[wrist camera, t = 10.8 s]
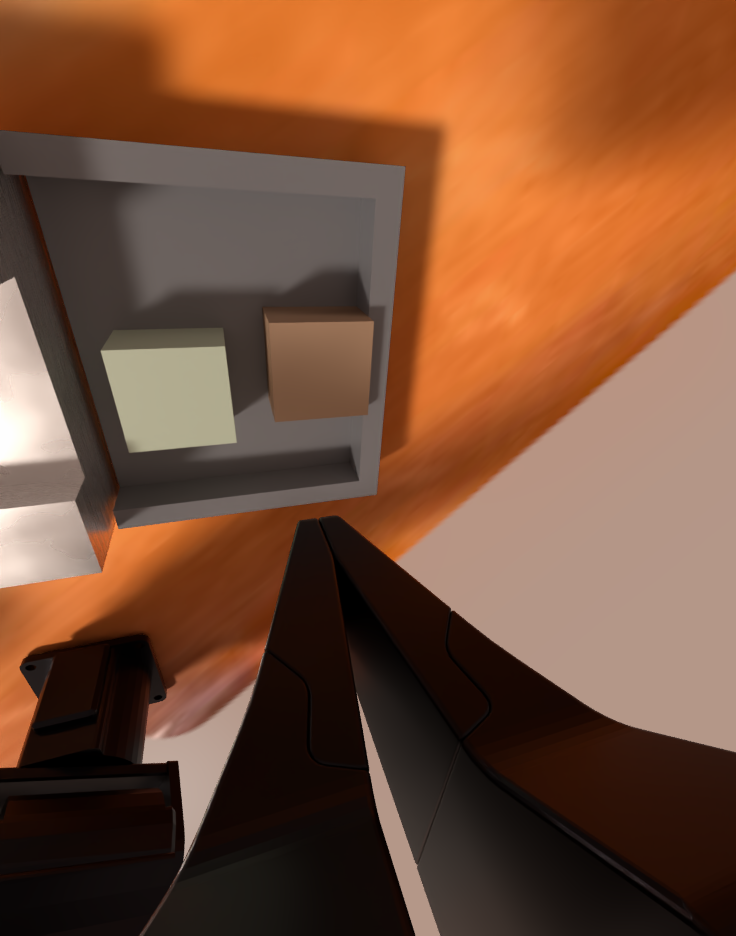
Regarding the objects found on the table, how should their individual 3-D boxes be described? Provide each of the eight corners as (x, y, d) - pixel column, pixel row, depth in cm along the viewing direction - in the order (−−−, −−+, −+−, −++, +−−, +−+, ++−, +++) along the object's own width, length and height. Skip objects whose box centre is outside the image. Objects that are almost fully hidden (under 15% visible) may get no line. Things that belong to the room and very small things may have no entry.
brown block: (275, 422, 18) (268, 397, 20) (368, 414, 19) (352, 392, 21) (269, 323, 16) (262, 306, 18) (373, 321, 17) (356, 306, 19)
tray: (363, 469, 24) (376, 494, 22) (126, 497, 21) (118, 528, 19) (383, 167, 17) (405, 166, 15) (19, 136, 14) (-12, 128, 12)
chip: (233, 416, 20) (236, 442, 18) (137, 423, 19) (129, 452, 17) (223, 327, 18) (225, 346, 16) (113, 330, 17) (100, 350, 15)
